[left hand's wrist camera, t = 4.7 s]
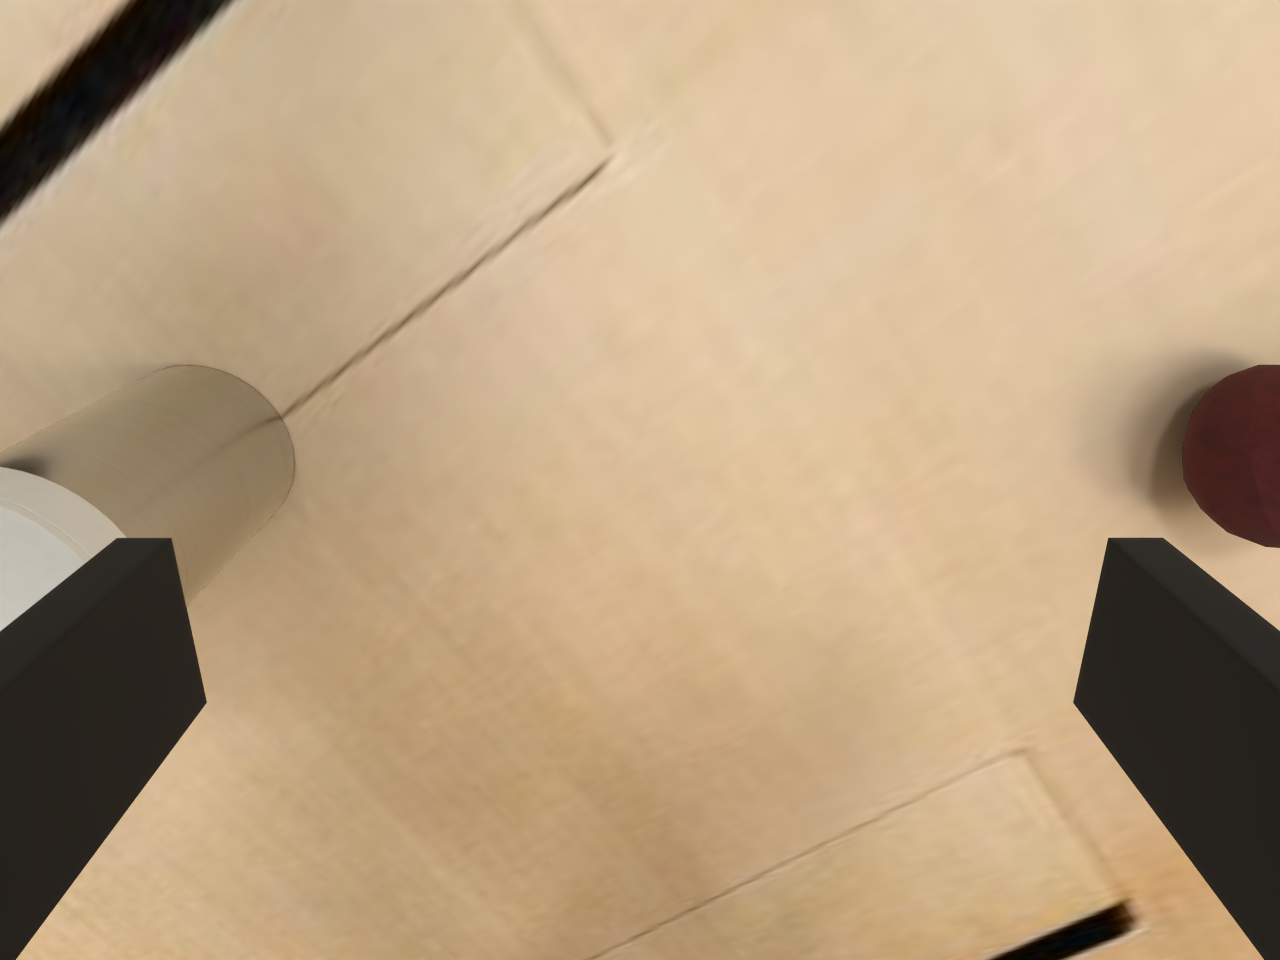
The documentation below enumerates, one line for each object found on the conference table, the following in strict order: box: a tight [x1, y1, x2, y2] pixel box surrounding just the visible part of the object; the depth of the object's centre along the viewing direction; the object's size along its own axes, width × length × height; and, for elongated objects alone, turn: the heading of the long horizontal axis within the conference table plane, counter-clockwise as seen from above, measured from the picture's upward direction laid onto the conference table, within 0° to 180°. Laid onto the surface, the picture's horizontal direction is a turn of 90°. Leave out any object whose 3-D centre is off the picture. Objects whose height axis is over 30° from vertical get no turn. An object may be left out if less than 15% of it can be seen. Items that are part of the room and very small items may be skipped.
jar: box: [0, 365, 295, 608], centre depth 35 cm, size 8×8×15 cm
